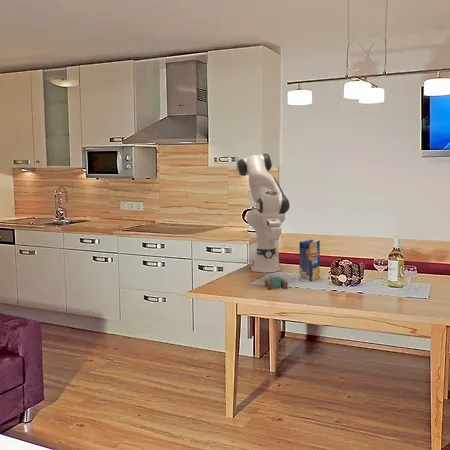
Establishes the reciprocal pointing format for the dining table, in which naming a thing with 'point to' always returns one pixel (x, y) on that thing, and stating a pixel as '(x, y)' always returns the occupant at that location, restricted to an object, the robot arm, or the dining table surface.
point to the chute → (269, 284)
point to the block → (275, 281)
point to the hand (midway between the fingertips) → (271, 246)
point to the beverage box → (309, 260)
